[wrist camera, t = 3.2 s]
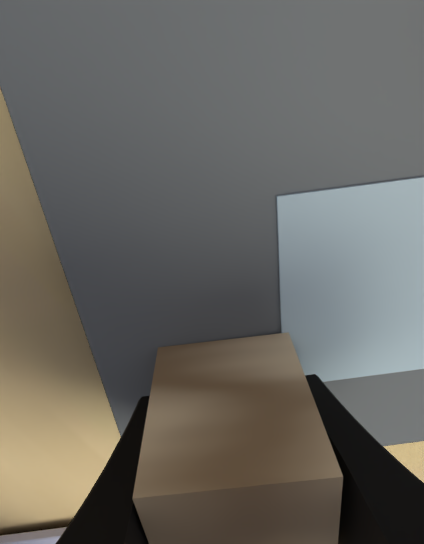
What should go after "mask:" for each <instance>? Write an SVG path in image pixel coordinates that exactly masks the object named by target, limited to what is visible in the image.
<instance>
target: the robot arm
mask: <svg viewBox="0 0 424 544" xmlns="http://www.w3.org/2000/svg"><path fill="white" fill-rule="evenodd" d="M305 377H306V380H307V382H308V385H309V388H310V390H311V393H312V395H313V398H314V401H315V403H316V406H317V409H318V411H319V414H320V417H321V419H322V422H323V425H324V427H325V430H326V432H327V435H328V438H329V440H330V443H331V446H332V448H333V451H334V454H335V456H336V459H337V461H338V464H339V467H340V469H341V472H342V475H343V486H342V499H341V511H340V523H339V536H338V544H424V483H423V482H422V481H421V480H419V479H418V478H417V477H416V476H415V475H414V474H412V473H411V472H410V471H409V470H408V469H407V468H406V467H405V466H403V465H402V464H401V463H400V462H399V461H398V460H397V459H396V458H395V457H394V456H393V455H391V454H390V453H389V452H388V451H387V450H386V449H385V448H384V447H383V446H382V445H381V444H380V443H379V442H378V441H377V440H376V439H375V438H374V437H373V436H372V435H371V434H370V433H369V432H368V431H367V430H366V429H365V428H364V427H363V426H362V425H361V424H360V423H359V422H358V421H357V420H356V419H355V418H354V417H353V416H352V415H351V414H350V413H349V411H348V410H347V409H346V408H345V407H344V406H343V405H342V404H341V403H340V401H339V400H338V399H337V398H336V397H335V396H334V395H333V394H332V392H331V391H330V390H329V389H328V388H327V386H326V385H325V384H324V383H323V382H322V380H321V379H320V378H319V377H318V376H317V375H316V374H312V375H305ZM149 398H150V396H143V397H141V398H140V399H139V401H138V403H137V405H136V407H135V410H134V412H133V414H132V416H131V418H130V420H129V422H128V424H127V427H126V429H125V431H124V432H123V434H122V436H121V438H120V440H119V442H118V444H117V446H116V448H115V450H114V451H113V453H112V455H111V457H110V459H109V461H108V463H107V464H106V466H105V468H104V470H103V471H102V473H101V475H100V476H99V478H98V480H97V481H96V483H95V485H94V486H93V488H92V490H91V491H90V493H89V494H88V496H87V498H86V499H85V501H84V502H83V504H82V506H81V507H80V509H79V510H78V512H77V513H76V515H75V516H74V518H73V519H72V521H71V522H70V524H69V525H68V527H62V528H55V529H47V530H39V531H31V532H24V533H16V534H8V535H0V544H149V543H148V540H147V537H146V534H145V532H144V529H143V526H142V523H141V521H140V518H139V515H138V513H137V510H136V507H135V504H134V502H133V499H132V498H133V492H134V486H135V480H136V474H137V468H138V462H139V457H140V451H141V445H142V439H143V433H144V427H145V421H146V415H147V409H148V403H149Z"/></svg>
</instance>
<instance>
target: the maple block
mask: <svg viewBox="0 0 424 544" xmlns="http://www.w3.org/2000/svg"><path fill="white" fill-rule="evenodd" d="M342 486H343V475H342V472H341V469H340V467H339V464H338V461H337V459H336V456H335V454H334V451H333V448H332V446H331V443H330V440H329V438H328V435H327V432H326V430H325V427H324V425H323V422H322V419H321V417H320V414H319V411H318V409H317V406H316V403H315V401H314V398H313V395H312V393H311V390H310V388H309V385H308V382H307V380H306V377H305V374H304V372H303V369H302V366H301V364H300V361H299V359H298V356H297V353H296V351H295V348H294V345H293V343H292V340H291V337H290V335H289V332H288V333H279V334H270V335H262V336H253V337H244V338H235V339H227V340H218V341H209V342H201V343H192V344H183V345H174V346H166V347H158V350H157V356H156V362H155V368H154V374H153V380H152V386H151V392H150V398H149V403H148V409H147V415H146V421H145V427H144V433H143V439H142V445H141V451H140V457H139V462H138V468H137V474H136V480H135V486H134V492H133V498H132V499H133V502H134V504H135V507H136V510H137V513H138V515H139V518H140V521H141V523H142V526H143V529H144V532H145V534H146V537H147V540H148V543H149V544H338V536H339V523H340V511H341V499H342Z"/></svg>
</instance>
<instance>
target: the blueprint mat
mask: <svg viewBox="0 0 424 544" xmlns="http://www.w3.org/2000/svg"><path fill="white" fill-rule="evenodd" d="M0 87H1V90H2V93H3V96H4V99H5V102H6V105H7V107H8V110H9V113H10V116H11V119H12V122H13V125H14V128H15V131H16V134H17V136H18V139H19V142H20V145H21V148H22V151H23V154H24V157H25V160H26V163H27V165H28V168H29V171H30V174H31V177H32V180H33V183H34V186H35V189H36V192H37V195H38V197H39V200H40V203H41V206H42V209H43V212H44V215H45V218H46V221H47V224H48V226H49V229H50V232H51V235H52V238H53V241H54V244H55V247H56V250H57V253H58V255H59V258H60V261H61V264H62V267H63V270H64V273H65V276H66V279H67V282H68V284H69V287H70V290H71V293H72V296H73V299H74V302H75V305H76V308H77V311H78V313H79V316H80V319H81V322H82V325H83V328H84V331H85V334H86V337H87V340H88V343H89V345H90V348H91V351H92V354H93V357H94V360H95V363H96V366H97V369H98V372H99V374H100V377H101V380H102V383H103V386H104V389H105V392H106V395H107V398H108V401H109V403H110V406H111V409H112V412H113V415H114V418H115V421H116V424H117V427H118V430H119V432H120V435H121V436H122V434H123V432H124V431H125V429H126V427H127V424H128V422H129V420H130V418H131V416H132V414H133V412H134V410H135V407H136V405H137V403H138V401H139V399H140V398H141V397H143V396H150V392H151V386H152V380H153V374H154V368H155V362H156V356H157V350H158V347H166V346H174V345H183V344H192V343H201V342H209V341H218V340H227V339H235V338H244V337H253V336H262V335H270V334H279V333H288V332H289V335H290V337H291V340H292V343H293V345H294V348H295V351H296V353H297V356H298V359H299V361H300V364H301V366H302V369H303V372H304V374H305V375H312V374H316V375H317V376H318V377H319V378H320V379H321V380H322V382H323V383H324V384H325V385H326V386H327V388H328V389H329V390H330V391H331V392H332V394H333V395H334V396H335V397H336V398H337V399H338V400H339V401H340V403H341V404H342V405H343V406H344V407H345V408H346V409H347V410H348V411H349V413H350V414H351V415H352V416H353V417H354V418H355V419H356V420H357V421H358V422H359V423H360V424H361V425H362V426H363V427H364V428H365V429H366V430H367V431H368V432H369V433H370V434H371V435H372V436H373V437H374V438H375V439H376V440H377V441H378V442H379V443H380V444H381V445H382V446H388V445H396V444H404V443H411V442H419V441H424V0H0Z"/></svg>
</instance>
